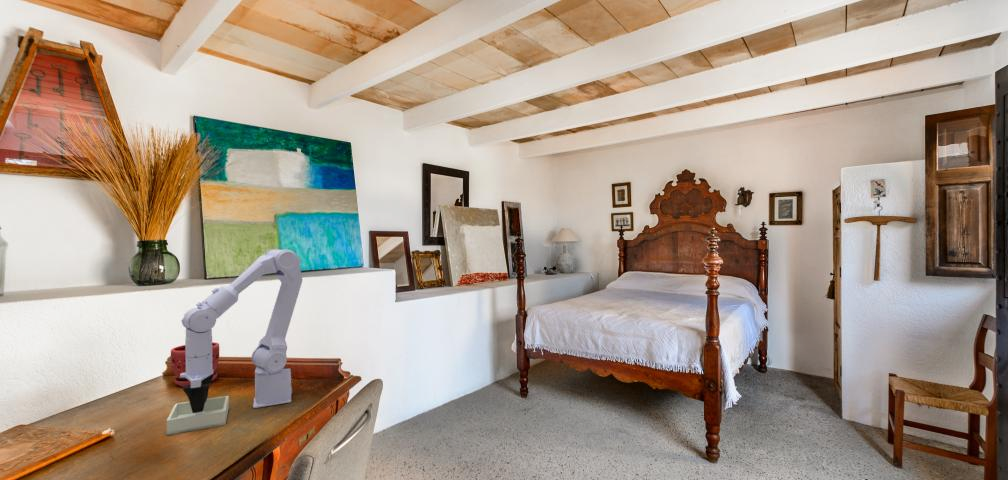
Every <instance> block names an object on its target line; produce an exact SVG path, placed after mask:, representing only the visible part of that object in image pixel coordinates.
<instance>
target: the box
mask: <svg viewBox="0 0 1008 480" xmlns="http://www.w3.org/2000/svg"><path fill="white" fill-rule="evenodd" d="M229 397H230V396H229V395H225V396H217V397H211V398H207V400H206V402H205V405H204V409H203V411H204V412H206V413H204V414H198V415H193V414H194V413H193V412H192V409H191V405H190V401H183V402H178V403H175V404H174V406H173V407H172V409H171V411H170V412H169V416H168V417H167V419H166V422H165V423H166V436H169V435H170V436H171V435H176V434H181V433H188V432H193V431H199V430H206V429H210V428H211V429H212V428H216V427H222V426H223V427H224V426H226V425H227V419H228V415H229V414H228V413H229V410H230V406H229V405H230V403H229V399H230V398H229ZM191 415H192V416H191Z"/></svg>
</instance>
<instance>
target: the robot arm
mask: <svg viewBox="0 0 1008 480" xmlns="http://www.w3.org/2000/svg"><path fill="white" fill-rule="evenodd" d="M301 261H302V260H301V259H300V258H299V256H298V255H297V254H296V252H294V251H293V250H291V249H276V248H271V249H268V250H266V252H265V253H264V254H262V255H260V256H259V257H258V258H256V260H255V261H254V262H253V263H252V264H251V265H249V266H248V267H247V268H246V270H244V271H243V272H242V273H241V274H240V275H238V277H237V278H235V279H234V280H233V281H232V282H231V283H230V284H229V285H221V286H219V288H218V287H214V288H213V289H212V290H211V292H212V293H211V294H210V295H209V296H207V297H206V298H205V299H204V300H202V301H201V302H197V303H196V304H195V305H196V306H197V307H194V308H191V309H189V310H187V311H186V312H185V313H184V314H183V316H184V317H182V319H181V323H182V324H181V325H182V326H183V327H184V328H185V339H184V340H185V342H184V343H185V344H184V345H185V350H186V372H185V373H181V374H180V378H182V377H185V378H187V379H188V380H189V381H190V383H191V385H184V386H182V389H183V392H184V393H185V394H186V396H187V399H188V402H190V405H191V409H192V412H193V413H197V412H203V409H204V405H205V402H206V400H207V399H208V395H209V389H210V387H211V383H212V381H213V380H212V378H213V376H214V373H213V365H212V342H213V331H212V329H213V328H214V327H215V326H216V322H217V319H219V318H221V316H223V314H225V313H226V312H227V311H228V310H229V309H230V308H231V307H232V306H234V305H235V304H236V303H237V302H238V301H239V295H240V293H242V292H244V291H245V289H247V288H249V286H251V285H252V284H253V283H255V282H256V281H257V280H259V279H260V278H261V277H262V276H263V275H268V274H274V275H275V276H276V277H277V278H278V280H279V281H280V286H279V290H278V293H277V297H276V299H275V302H274V306H273V309H272V312H271V316H270V319H269V322H268V326H267V328H266V331H265V332H266V333H265V335H264V336H263V337H262V338H261V339H260V340H259V343H258V345H257V346H256V348H255V349H254V350H253V351H252V354H251V359H250V360H251V362H252V364H253V365H254V366H255V369H254V396H255V397H254V398H253V405H252V407H253V409H257V408H265V407H271V406H276V405H277V406H278V405H282V404H287V403H288V404H289V403H292V394H293V387H292V375H291V374H292V373H291V370H292V369H291V368H285V367H286V364H287V361H288V357H287V351H288V345H287V341H286V338H287V337H286V336H287V334H288V331H289V327H290V323H291V320H292V317H293V314H294V310H295V307H296V303H297V300H298V297H299V294H300V293H299V292H300V290H301V287H302V283H303V276H302V271H301V266H300V264H301ZM211 380H212V381H211Z"/></svg>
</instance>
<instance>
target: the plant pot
mask: <svg viewBox="0 0 1008 480" xmlns="http://www.w3.org/2000/svg"><path fill="white" fill-rule="evenodd" d="M219 359H220V343H218V342H213V341H212V365H213V373H214V376H213V378H212V380H211V382H212V381H214V380H215V379H216V378H217V377H218V372H217V371H216V369H217V367H218V365H219ZM170 361H171V362H170V364H171V367H172V371H173V373H174V375H175V376H176V377H175V378H174V381H173V382H174V384H175V385H177V386H180V387H184V385H191V383H190V381H189V380H188V379H187V378H185V377H182V378H180V374H181V373H185V372H186V350H185V344H184V345H179V346H175V347H172V348H171V349H170Z"/></svg>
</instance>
